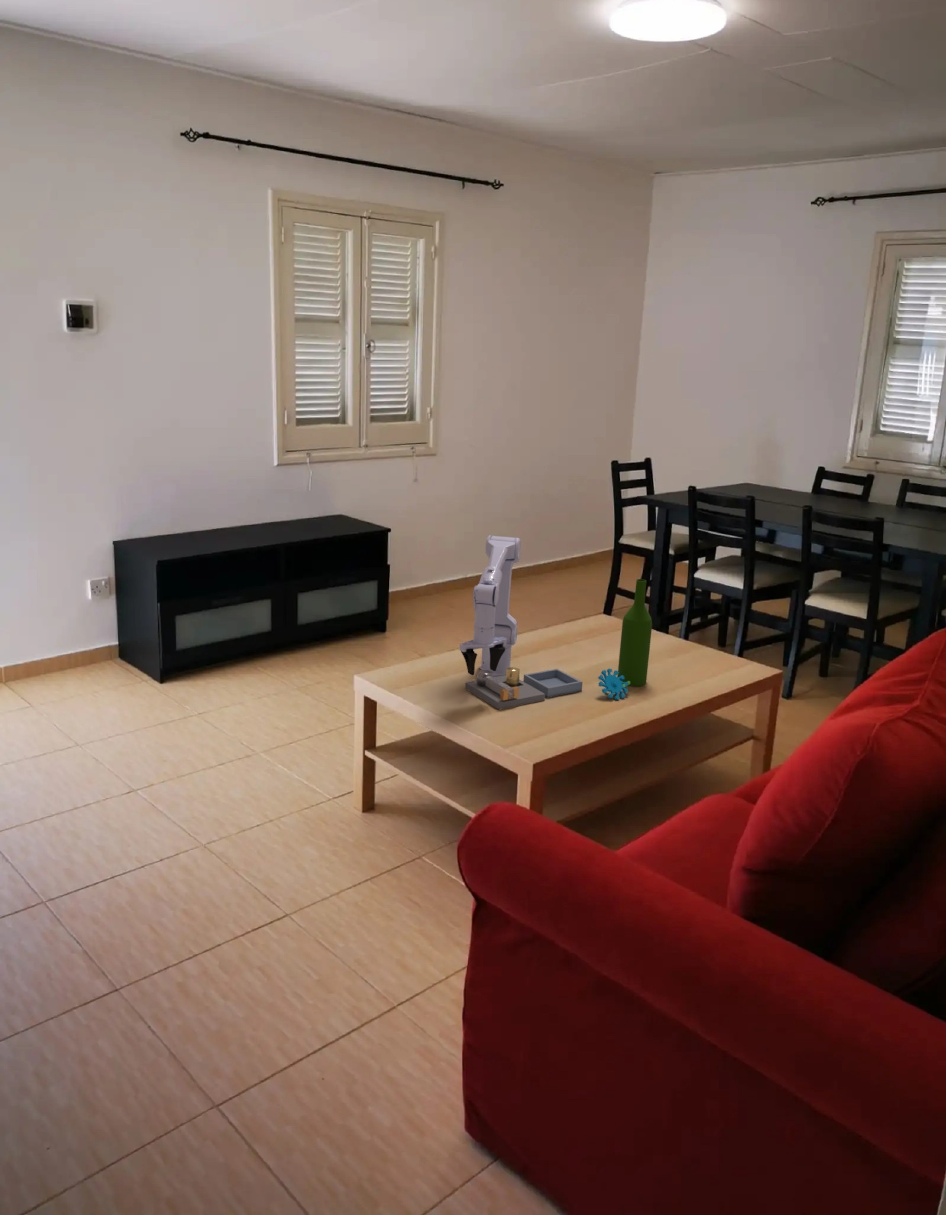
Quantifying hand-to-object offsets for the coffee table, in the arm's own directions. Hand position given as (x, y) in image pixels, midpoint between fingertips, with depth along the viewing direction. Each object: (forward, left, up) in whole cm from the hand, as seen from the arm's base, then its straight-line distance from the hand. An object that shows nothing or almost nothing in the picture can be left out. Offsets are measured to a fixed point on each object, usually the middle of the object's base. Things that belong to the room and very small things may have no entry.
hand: (482, 671), depth 267 cm
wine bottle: (+6, +52, -10) cm, 53 cm away
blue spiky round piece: (+12, +39, -10) cm, 42 cm away
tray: (-1, +26, -9) cm, 28 cm away
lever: (-2, +6, -7) cm, 9 cm away
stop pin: (-5, +14, -9) cm, 17 cm away
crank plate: (-2, +10, -9) cm, 14 cm away
